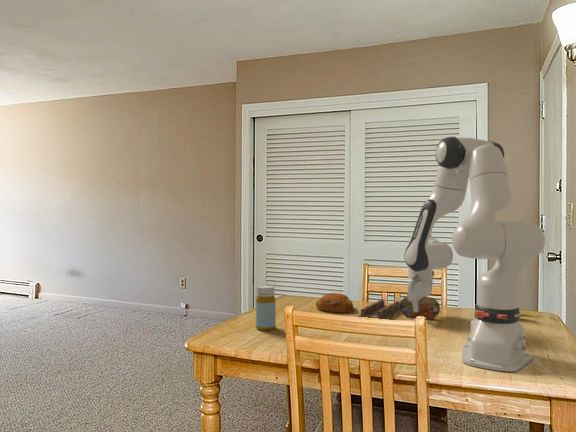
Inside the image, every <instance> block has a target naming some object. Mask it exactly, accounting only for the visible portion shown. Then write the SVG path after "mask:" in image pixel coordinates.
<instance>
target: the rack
mask: <svg viewBox="0 0 576 432" xmlns="http://www.w3.org/2000/svg"><path fill="white" fill-rule="evenodd" d="M400 302H401V300H400V301H398V300H397V301H394V302H392V303H391V304H389V305H385V299H379V300H377V301H375V302H373V303H371V304H369V305H368V306H365V307H363V308H361V309H360V314H358V316H357V317H368V318H379V319H386V320H388V319H390V318H391V317H393V316H395V315H397V314H398V313H400V312H401V310H400Z"/></svg>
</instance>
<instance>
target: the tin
mask: <svg viewBox="0 0 576 432" xmlns="http://www.w3.org/2000/svg"><path fill="white" fill-rule="evenodd" d="M418 307H419V311H418V312H414V311H413V305H412V302H410V301H408V295H407V296H405V297H403V298H402V299H400V310H401V311H400V312H401V314H402V315H403V316H404V317H406V318H410V319H417V318H416V317H417V316H424V317H426V319H425V320H427V321H428V320H433V319H436V318H437V317H438V316H439V314H440V311H441V306H440V304H439V302H438V301H437V299H435V298H433V297H431V296H430V297H429V296H427V297H424V298H423V299H421V300H419V303H418Z"/></svg>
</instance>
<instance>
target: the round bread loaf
mask: <svg viewBox="0 0 576 432" xmlns="http://www.w3.org/2000/svg"><path fill="white" fill-rule="evenodd" d="M315 306H316V309H317V310H319V311H323V312H331V313H349V312H351V311H352V310H353V308H354V304H353V302H352V301H351V299H350V298H349V297H348V296H347V295H345V294H343V293H337V292H329V293H326V294H324V295H322V297H319V298H318V300H317V301H316V302H315Z"/></svg>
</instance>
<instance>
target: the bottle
mask: <svg viewBox="0 0 576 432" xmlns="http://www.w3.org/2000/svg"><path fill="white" fill-rule="evenodd" d="M276 307H277V306H276V298H275V286H274V285H271V284H263V285H262V284H261V285H257V286H256V297H255V328H256V329H257V330H259V331H265V332H266V331H273V330H274V329H275V328H276V324H277V323H276V321H277V319H276V315H277V314H276V311H277V310H276Z"/></svg>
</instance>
